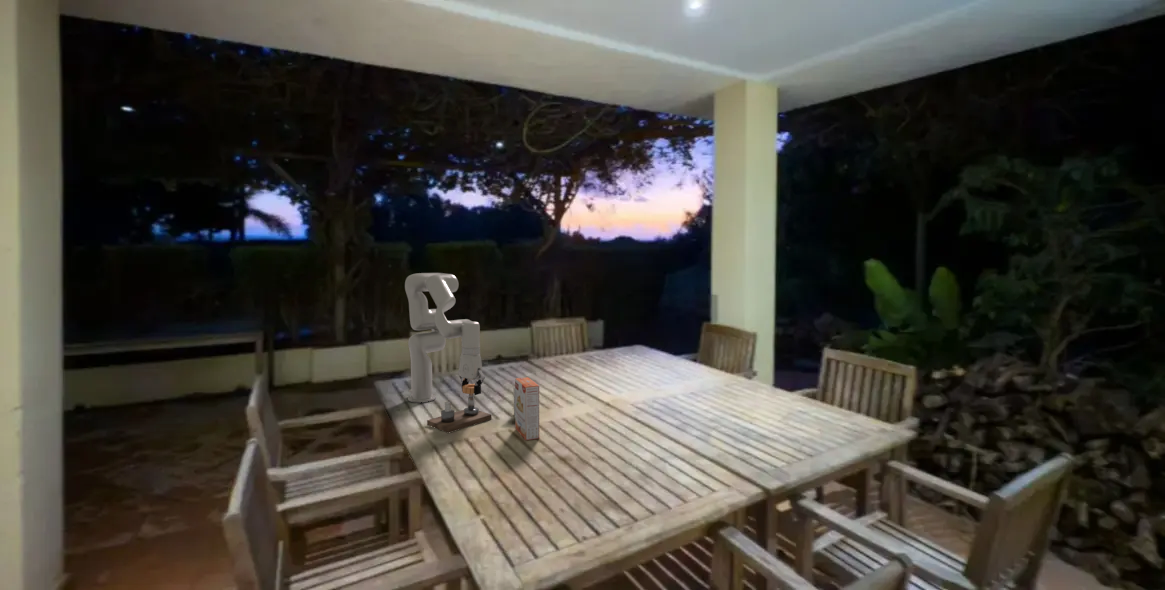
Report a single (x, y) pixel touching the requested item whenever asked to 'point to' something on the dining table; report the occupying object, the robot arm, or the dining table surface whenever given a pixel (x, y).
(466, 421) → the base board
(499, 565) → the dining table surface
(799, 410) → the dining table surface
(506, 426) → the dining table surface
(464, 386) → the ring
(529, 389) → the cracker box
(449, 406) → the gray oval domed knob
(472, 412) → the hub
